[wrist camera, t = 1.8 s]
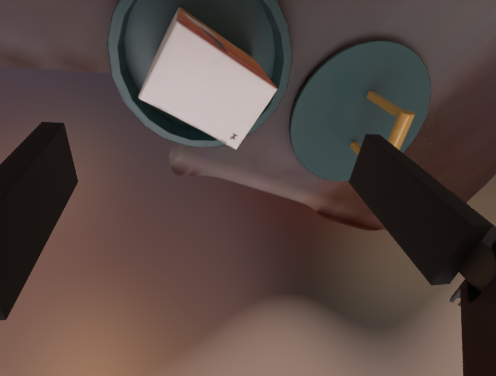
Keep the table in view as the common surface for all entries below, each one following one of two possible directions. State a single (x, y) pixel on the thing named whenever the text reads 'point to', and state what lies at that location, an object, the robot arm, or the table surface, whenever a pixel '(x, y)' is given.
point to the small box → (206, 81)
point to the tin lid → (358, 106)
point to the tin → (217, 18)
